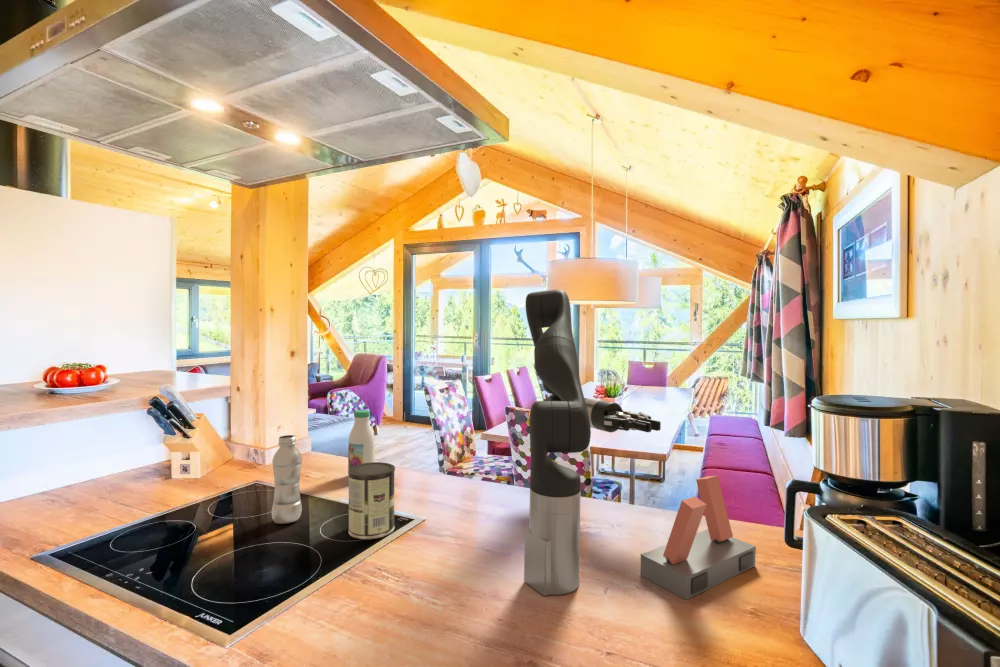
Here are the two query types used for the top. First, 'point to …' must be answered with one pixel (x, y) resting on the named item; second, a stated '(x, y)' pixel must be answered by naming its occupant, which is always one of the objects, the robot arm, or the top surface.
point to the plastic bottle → (286, 481)
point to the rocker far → (714, 508)
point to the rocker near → (684, 530)
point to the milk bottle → (361, 440)
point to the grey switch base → (699, 565)
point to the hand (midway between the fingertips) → (654, 426)
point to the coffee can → (371, 500)
